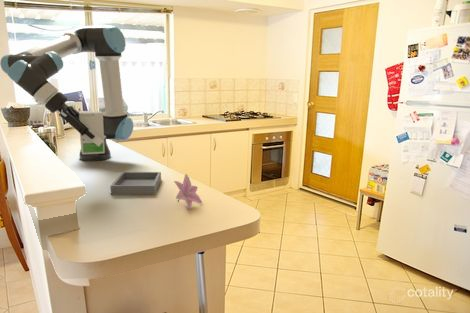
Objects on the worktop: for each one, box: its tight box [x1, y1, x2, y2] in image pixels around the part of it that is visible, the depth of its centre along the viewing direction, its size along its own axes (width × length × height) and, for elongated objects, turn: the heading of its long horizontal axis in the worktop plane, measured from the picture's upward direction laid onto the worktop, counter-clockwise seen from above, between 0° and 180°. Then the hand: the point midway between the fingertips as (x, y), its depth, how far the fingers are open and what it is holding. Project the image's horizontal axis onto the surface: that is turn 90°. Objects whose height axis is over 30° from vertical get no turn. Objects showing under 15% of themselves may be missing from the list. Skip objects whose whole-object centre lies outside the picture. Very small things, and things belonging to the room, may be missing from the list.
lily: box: [173, 173, 203, 210], centre depth 119 cm, size 12×12×10 cm
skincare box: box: [78, 110, 105, 154], centre depth 128 cm, size 8×7×16 cm
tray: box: [110, 171, 162, 196], centre depth 135 cm, size 18×16×4 cm
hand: (102, 141), depth 130 cm, fingers closed on skincare box, 7 cm apart
